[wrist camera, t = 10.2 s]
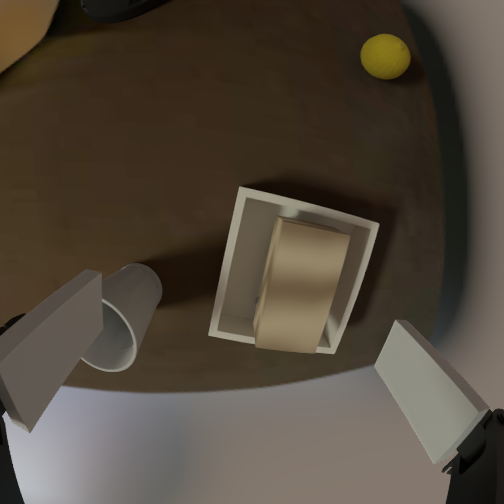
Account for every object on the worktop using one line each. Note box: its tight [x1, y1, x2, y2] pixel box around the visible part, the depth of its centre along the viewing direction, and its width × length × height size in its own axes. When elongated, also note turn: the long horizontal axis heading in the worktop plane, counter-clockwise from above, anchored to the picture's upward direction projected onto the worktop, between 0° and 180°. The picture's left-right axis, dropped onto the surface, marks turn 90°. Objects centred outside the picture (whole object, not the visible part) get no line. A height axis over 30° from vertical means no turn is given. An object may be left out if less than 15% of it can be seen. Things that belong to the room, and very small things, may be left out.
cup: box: [81, 263, 162, 372], centre depth 26 cm, size 8×8×12 cm
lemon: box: [360, 34, 410, 79], centre depth 22 cm, size 6×6×8 cm
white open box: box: [208, 187, 379, 354], centre depth 29 cm, size 16×15×5 cm
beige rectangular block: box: [253, 215, 350, 353], centre depth 26 cm, size 12×6×5 cm, turn 169°
